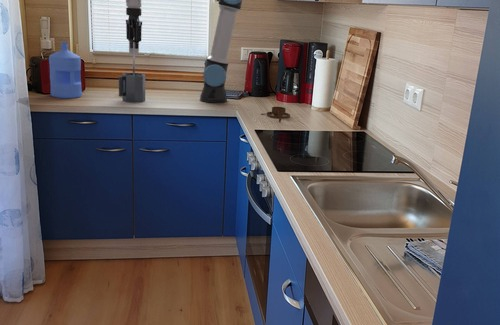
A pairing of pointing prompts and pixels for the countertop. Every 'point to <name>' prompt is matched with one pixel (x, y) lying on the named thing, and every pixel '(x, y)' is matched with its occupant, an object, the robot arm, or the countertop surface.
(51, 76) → the water jug
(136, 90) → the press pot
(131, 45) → the plunger
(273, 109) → the place setting
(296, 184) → the countertop surface
